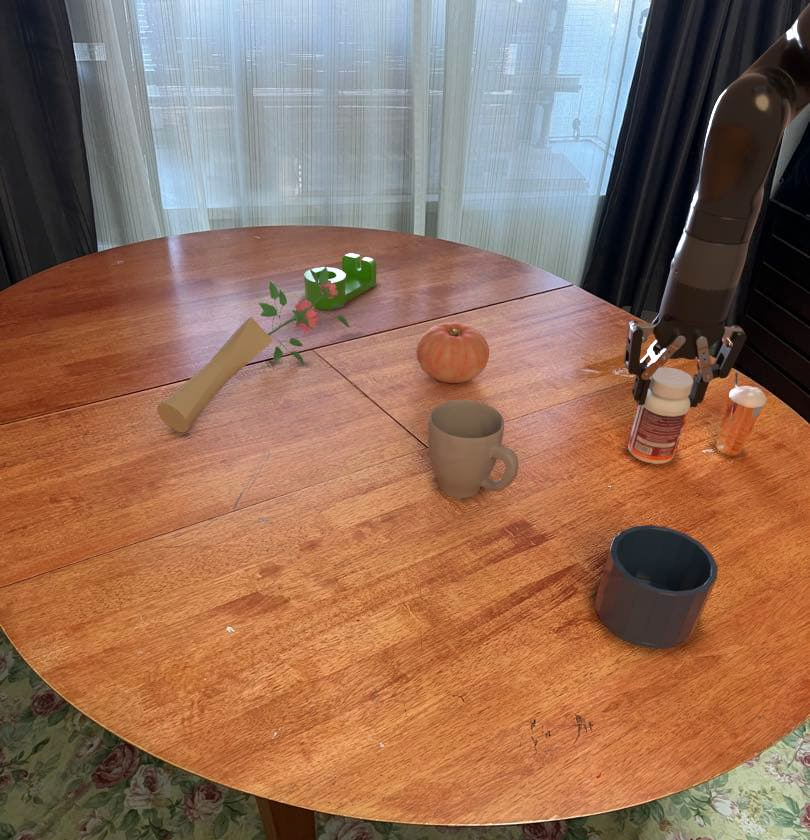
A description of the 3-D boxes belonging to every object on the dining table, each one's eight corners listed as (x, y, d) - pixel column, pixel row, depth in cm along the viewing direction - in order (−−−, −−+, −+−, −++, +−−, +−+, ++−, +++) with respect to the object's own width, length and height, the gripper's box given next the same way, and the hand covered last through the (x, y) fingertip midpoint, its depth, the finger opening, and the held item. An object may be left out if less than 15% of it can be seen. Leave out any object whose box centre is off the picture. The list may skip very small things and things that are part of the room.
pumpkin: (474, 357, 121) (480, 309, 116) (495, 391, 113) (502, 341, 108) (408, 361, 119) (411, 312, 114) (424, 396, 111) (427, 345, 106)
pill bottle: (680, 464, 100) (706, 388, 93) (636, 466, 99) (659, 390, 92) (662, 439, 105) (686, 364, 98) (620, 440, 104) (640, 365, 97)
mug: (409, 485, 94) (413, 418, 88) (453, 456, 99) (460, 391, 93) (487, 528, 88) (498, 460, 82) (529, 495, 94) (542, 428, 87)
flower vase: (176, 464, 108) (306, 324, 126) (236, 471, 101) (365, 323, 120) (129, 396, 100) (276, 259, 119) (191, 399, 94) (336, 252, 112)
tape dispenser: (330, 312, 131) (330, 286, 128) (297, 302, 134) (296, 276, 131) (377, 285, 141) (378, 260, 138) (345, 276, 144) (345, 251, 141)
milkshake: (725, 434, 107) (750, 369, 100) (752, 454, 103) (779, 389, 96) (699, 440, 105) (722, 375, 99) (725, 461, 101) (751, 395, 95)
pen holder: (679, 579, 83) (699, 526, 78) (707, 651, 75) (732, 597, 71) (586, 576, 83) (601, 523, 78) (605, 647, 75) (623, 593, 70)
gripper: (650, 284, 83) (615, 416, 94) (779, 290, 84) (730, 421, 95) (634, 259, 89) (603, 386, 100) (755, 264, 89) (711, 390, 100)
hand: (665, 402), depth 97 cm, fingers closed on pill bottle, 6 cm apart
